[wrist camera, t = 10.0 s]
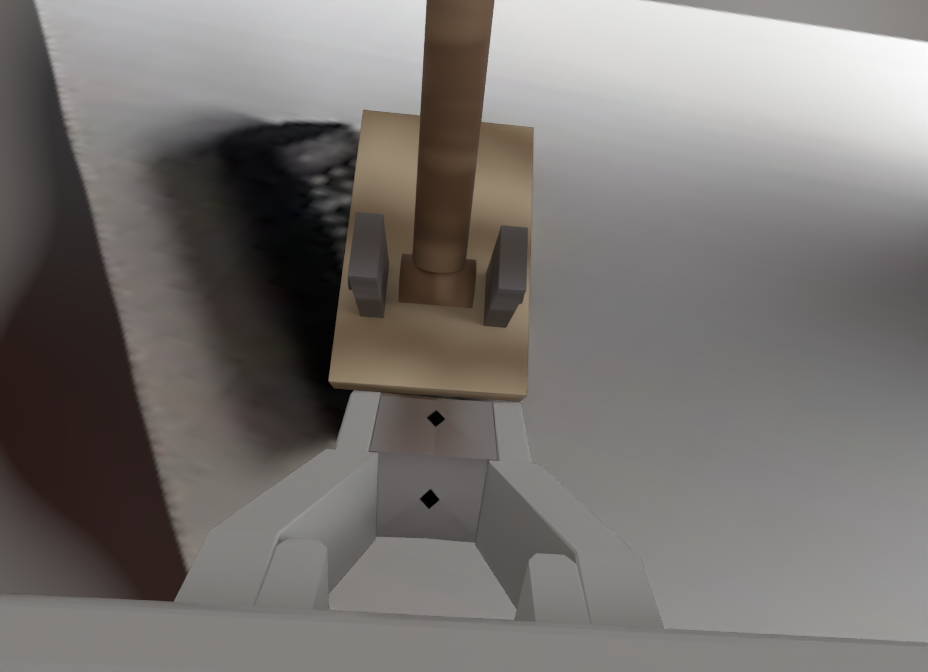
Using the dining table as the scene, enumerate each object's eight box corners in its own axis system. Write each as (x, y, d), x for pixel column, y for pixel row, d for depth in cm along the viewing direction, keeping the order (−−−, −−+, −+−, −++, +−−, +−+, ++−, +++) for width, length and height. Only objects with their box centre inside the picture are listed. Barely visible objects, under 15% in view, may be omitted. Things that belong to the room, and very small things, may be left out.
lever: (476, 324, 26) (576, -466, 14) (391, 317, 26) (424, -493, 14) (473, 289, 29) (552, -370, 18) (399, 283, 29) (429, -390, 18)
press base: (519, 401, 30) (552, 372, 23) (334, 388, 29) (307, 354, 22) (526, 147, 34) (556, 56, 27) (366, 131, 34) (352, 33, 26)
